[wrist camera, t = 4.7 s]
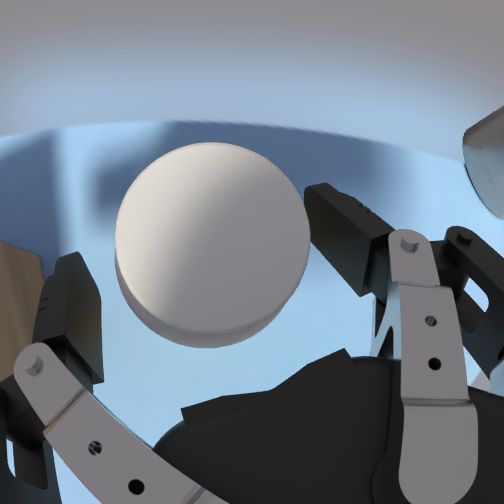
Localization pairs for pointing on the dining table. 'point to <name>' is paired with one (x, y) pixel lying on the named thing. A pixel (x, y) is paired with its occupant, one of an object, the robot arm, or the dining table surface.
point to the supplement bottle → (210, 244)
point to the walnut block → (17, 303)
